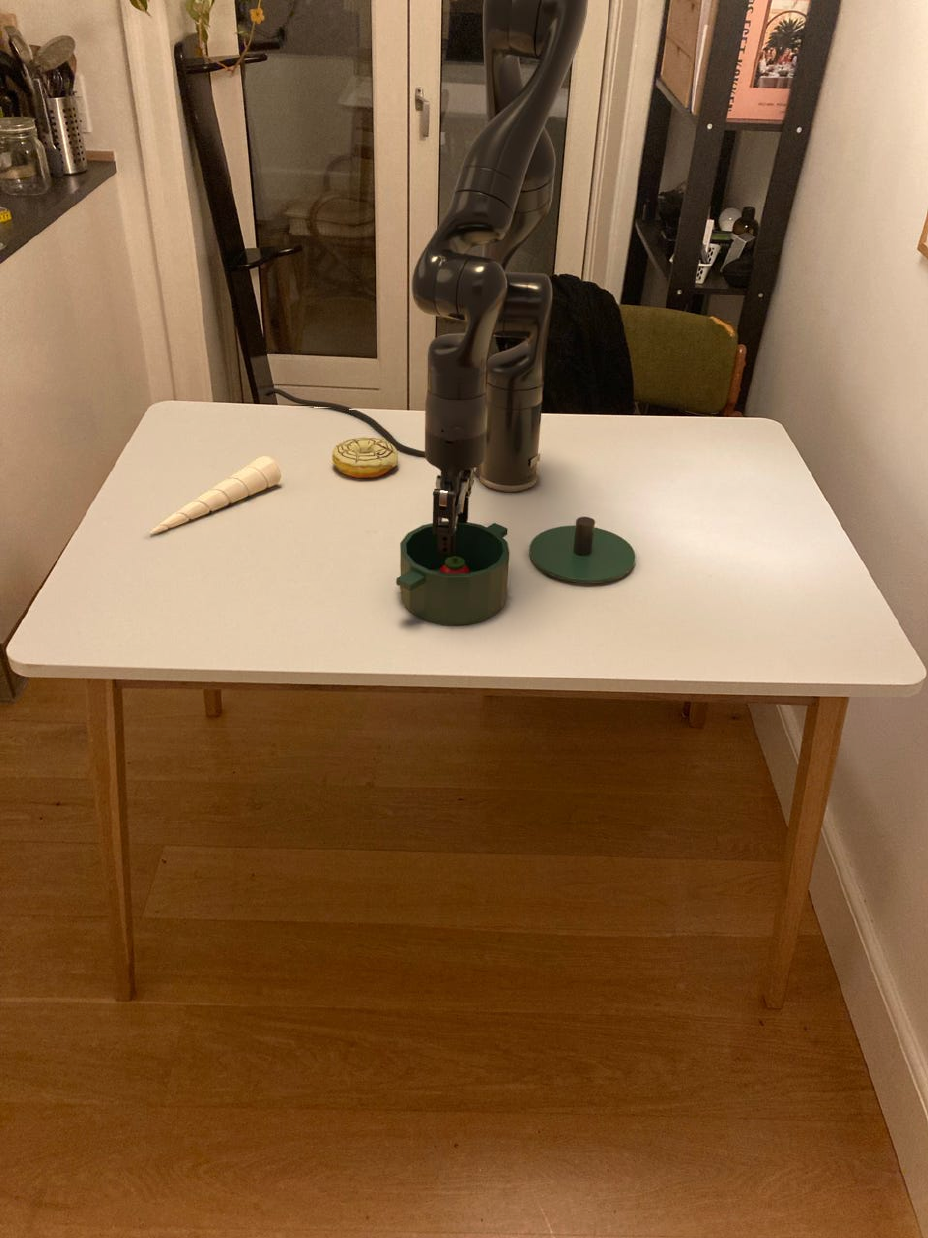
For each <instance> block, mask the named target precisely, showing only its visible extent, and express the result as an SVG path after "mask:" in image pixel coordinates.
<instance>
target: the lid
mask: <svg viewBox="0 0 928 1238" xmlns="http://www.w3.org/2000/svg"><path fill="white" fill-rule="evenodd" d="M575 521H576V522H575V524H574V525H561V526H557V527H552V528H549V529H546V530H544V531H541V532H540V533H539V534H537V535H536V536H535V537H534V538H533V539H532V540H531V541H530V544H529V550H528V551H529V556H530V558H531V561H532V562H533V563H534V564H535V566H536V567H538V568H539V569H540V570H541V571H543V572H545V573H546V574H548V575H550V576H552V577H555V578H558V579H561V580H564V581H568V582H574V583H581V584H582V583H584V584H597V583H606V582H609V581H614V580H617V579H619V578H621V577H624V576H625V575H627V574H628V573H629V572H630V571H631V570H632V569H633V568H634V566H635V563H636V554H635V550H634V548H633V546H632V545H631V544H630V543H629V542H628V541H627V540H626V539H624V538H623V537H621V536H620V535H618V534H616V533H613V532H611V531H609V530H606V529H603V528H599V527H596V525H595V524H596V520H595V519H593V518H592V517H590V516H580V517H578V518H577V519H576V520H575Z"/></svg>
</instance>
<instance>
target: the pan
mask: <svg viewBox="0 0 928 1238" xmlns="http://www.w3.org/2000/svg"><path fill="white" fill-rule="evenodd" d="M442 522H449V521H448V520H442ZM432 527H433V522H431V523H427V524H422V525H420V526H418V527H416V528H415V529H413V530H411V531H409V532H407V533H406V535H405V536H404V538H402V539H401V542H400V545H399V546H400V547H399V549H400V551H399V552H400V553H399V556H400V557H399V558H400V559H399V561H400V562H399V563H400V565H399V566H400V575H399V576H397V577H396V585H397V586H398V587H400V598H401V602H402V604H403V606H404V607H405V608H406V609H407V611H408V612H409V613H411V614H412V615H414V616H416V617H417V618H419V619H421V620H423V621H426V622H430V623H434V624H438V625H442V626H443V625H444V626H466V625H472V624H473V625H474V624H478V623H481V622H483V621H486V620H488V619H490V618H492V617H494V616H495V615H496V614H498V613H499V612H500V611H501V610H502V609H503V607H504V606H505V602H506V599H507V597H508V583H509V582H508V581H509V568H510V567H509V565H510V548H509V544H508V543H509V542H508V541H507V540H506V539H505V538H504V537H506V536H507V535H508V534H509V533H508V531H509V528H508V527H506V526H503V525H501V524H498V523H496V522H493V523H491V524H489V525H488V526H485V525H483V524H480V523H476V522H475V523H474V522H469V521H467V522H466V523H465V524H462V523H457V530H456V545H455V554H454V556H457V557H460V558H462V559H463V560H464V561H465V565H466V566H467V567H468V569H469V572H470V573H461V574H447V573H442V572H440V569H441V567H442V566H443V565H444V564H445V560H446V559H447V558H449V557H445V556H440V555H438V553H437V539H438V534H433V531H432Z"/></svg>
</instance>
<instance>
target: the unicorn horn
mask: <svg viewBox="0 0 928 1238" xmlns="http://www.w3.org/2000/svg"><path fill="white" fill-rule="evenodd" d="M281 479H282V473H281V469H280V467H279V465H278V463H277V461H275V460H274V458H272V457H270V456H268V455H263V456H260V457H258V458H257V459H255V460H253V461H252V462H251V463H249V464H248V465H247V466H245V467H243V468H241V469H240V470H239V471H237V472H235V473H234V474H232V475H230V476H229V477H227V478H226V479H224V480H223V481H221V482H220V483H218V484H216V485H215V486H213V487H212V488H210V489H209V490H207V491H206V492H204V493H203V494H201V495H200V496H198V497H196V498H195V499H194V500H192V501H191V502H189V503H187V504H186V505H185V506H183V507H181V508H180V509H179V510H177V511H176V512H175V513H173V514H171V515H170V516H169V517H166V519H165V520H163V521H162V522H160V523H159V524H158V525H157V526H155V527H154V528H153V529H151V530H150V532H149V535H153V534H158V533H160V532H163V531H166V530H168V529H170V528H171V529H172V528H174V527H177V526H179V525H182V524H184V523H187V522H189V521H190V520H195V519H197V518H199V517H202V516H205V515H208V514H210V512H214V511H218V510H220V509H221V508H224V507H226V506H229V504H233V503H236V502H238V501H240V500H243V499H246V498H247V497H248V496H253V495H254V494H256V493H257V494H258V493H259V492H261V491H264V490H266V489H268V488H271V487H274V486H276V485H277V484H279V483H280V482H281Z"/></svg>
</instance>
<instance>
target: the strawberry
mask: <svg viewBox="0 0 928 1238" xmlns="http://www.w3.org/2000/svg"><path fill="white" fill-rule="evenodd" d="M440 572H442V573H447V574H461V573H470V572H469V569H468V567H467V566H466V565H465V561H464V560H463V559H462V558H460V557H457V556H453V557H449V558H447V559H446V560H445V564H444V565H443V566H442V567H441V569H440Z"/></svg>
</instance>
